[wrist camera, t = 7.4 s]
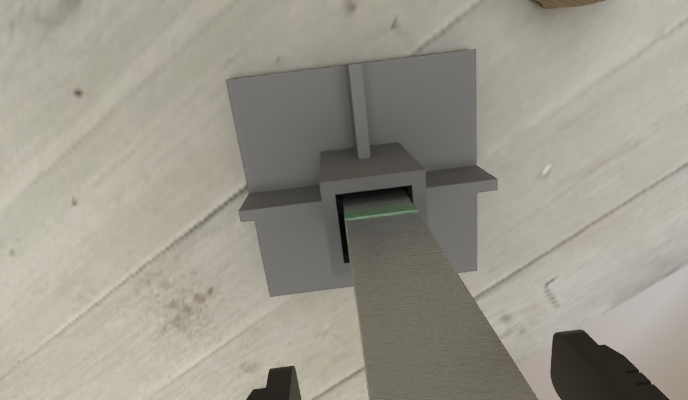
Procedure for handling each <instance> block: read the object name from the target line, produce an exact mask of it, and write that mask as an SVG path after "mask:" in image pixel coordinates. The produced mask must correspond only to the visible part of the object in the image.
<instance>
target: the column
mask: <svg viewBox="0 0 688 400" xmlns="http://www.w3.org/2000/svg"><path fill="white" fill-rule="evenodd" d="M342 198H343V206H344V219H345V227H346V235H347V243H348V251H349V259H350V267H351V275H352V283H354V291H355V298H356V306H357V313H358V321H359V328H360V336H361V343H362V351H363V358H364V366H365V373H366V381H367V388H368V395H369V400H538V398H537V397H536V395H535V394H534V392H533V391H532V389H531V388H530V386H529V384H528V383H527V381H526V380H525V378H524V377H523V375H522V373H521V372H520V370H519V369H518V367H517V366H516V364H515V363H514V361H513V359H512V358H511V356H510V355H509V353H508V352H507V350H506V348H505V347H504V345H503V344H502V342H501V341H500V339H499V338H498V336H497V334H496V333H495V331H494V330H493V328H492V327H491V325H490V324H489V322H488V320H487V319H486V317H485V316H484V314H483V313H482V311H481V309H480V308H479V306H478V305H477V303H476V302H475V300H474V299H473V297H472V295H471V294H470V292H469V291H468V289H467V288H466V286H465V285H464V283H463V281H462V280H461V278H460V277H459V275H458V274H457V272H456V270H455V269H454V267H453V266H452V264H451V263H450V261H449V260H448V258H447V256H446V255H445V253H444V252H443V250H442V249H441V247H440V246H439V244H438V242H437V241H436V239H435V238H434V236H433V235H432V233H431V231H430V230H429V228H428V227H427V225H426V224H425V222H424V221H423V219H422V217H421V216H420V214H419V213H418V209H417V207H416V206H415V204H414V203H412V202H411V200H410V199H409V197H408V196H407V194H406V192H405V191H404V189H403V188H402V186H401V187H393V188H385V189H377V190H369V191H361V192H353V193H345V194H342Z"/></svg>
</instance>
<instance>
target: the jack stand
mask: <svg viewBox="0 0 688 400" xmlns="http://www.w3.org/2000/svg"><path fill="white" fill-rule="evenodd" d="M226 84H227V89H228V93H229V98H230V103H231V108H232V113H233V118H234V123H235V128H236V133H237V137H238V142H239V147H240V152H241V157H242V162H243V167H244V172H245V177H246V181H247V186H248V191H249V195H248V196H247V198H246V200H245V201H244V203H243V205H242V206H241V208H240V210H239V216H240V221H241V222H246V221H254V220H255V225H256V230H257V235H258V240H259V245H260V250H261V255H262V260H263V264H264V269H265V274H266V279H267V284H268V289H269V294H270V297H272V296H280V295H288V294H296V293H304V292H312V291H320V290H328V289H336V288H343V287H351V286H354V283H352V275H351V267H350V259H349V251H348V243H347V235H346V227H345V219H344V206H343V198H342V194H345V193H353V192H361V191H369V190H377V189H385V188H393V187H401V186H402V188H403V189H404V191H405V192H406V194H407V196H408V197H409V199H410V200H411V202H412V203H414V204H415V206H416V207H417V209H418V213H419V214H420V216H421V217H422V219H423V221H424V222H425V224H426V225H427V227H428V228H429V230H430V231H431V233H432V235H433V236H434V238H435V239H436V241H437V242H438V244H439V246H440V247H441V249H442V250H443V252H444V253H445V255H446V256H447V258H448V260H449V261H450V263H451V264H452V266H453V267H454V269H455V270H456V272H457V273H462V272H470V271H477V193H478V192H486V191H494V190H497V181H498V179H497V178H495V177H494V176H492V175H491V174H489V173H487V172H486V171H484V170H483V169H481V168H480V167H478V166H477V165H476V49H472V50H464V51H455V52H447V53H439V54H431V55H423V56H415V57H407V58H398V59H390V60H382V61H374V62H366V63H358V64H350V65H341V66H333V67H325V68H317V69H309V70H301V71H292V72H284V73H276V74H268V75H260V76H252V77H244V78H235V79H228V80H226Z"/></svg>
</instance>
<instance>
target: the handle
mask: <svg viewBox="0 0 688 400" xmlns="http://www.w3.org/2000/svg"><path fill="white" fill-rule="evenodd" d="M535 1H537V2H539V3H540V4H541V5H542V7H543V8H547V9H550V8H557V7H575V6H582V5H588V4H593V3H597V2H600V1H604V0H535Z"/></svg>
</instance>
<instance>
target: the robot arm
mask: <svg viewBox="0 0 688 400" xmlns="http://www.w3.org/2000/svg"><path fill="white" fill-rule="evenodd" d="M551 379H552V383H553V386H554V388H555V391H556V392H557V394H558V396H559V397H560V398H561V400H669V399H668V398H667V397H666V396H665V395H664V394H663V393H662V392H661V391H660V390H659V389H658V388H657V387H656V386H655V385H652V384H651V382H650V380H648V379H647V378H646V377H645V376H644V375H643V374H642V373H639V370H638V369H637V368H636V367H635V366H634V365H633V364H632V363H631V362H630V361H629V360H628V359H627V358H626V357H624V356H623V355H622V354H620V353H618V352H616V351H615V350H613V349H611V348H610V347H608V346H606V345H598V344H597V343H596V342H595V341H594V340H593V339H592V338H591V337H590V336H589V335H588V334H587V333H586V332H585V331H583V330H572V331H564V332H557V333H555V334H554V336H553V343H552V358H551ZM246 400H301V395H300V390H299V385H298V380H297V375H296V370H295V367H294V366H288V367H280V368H273V369H270V370H269V374H268V379H267V385H266V388H261V389H254V390H253V391H252V392H251V393H250V395H249V396H248V398H247V399H246Z"/></svg>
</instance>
